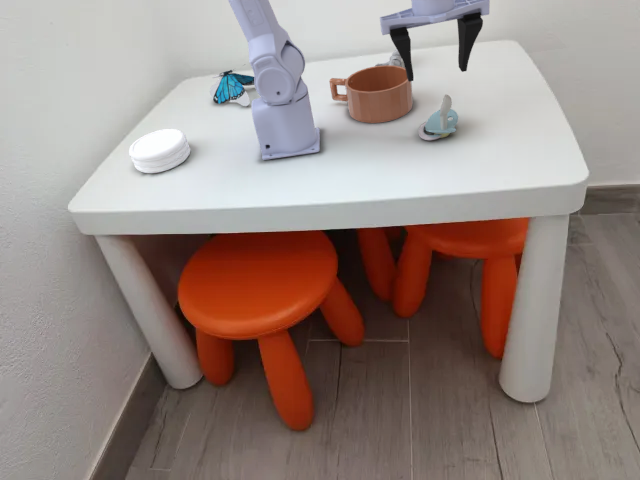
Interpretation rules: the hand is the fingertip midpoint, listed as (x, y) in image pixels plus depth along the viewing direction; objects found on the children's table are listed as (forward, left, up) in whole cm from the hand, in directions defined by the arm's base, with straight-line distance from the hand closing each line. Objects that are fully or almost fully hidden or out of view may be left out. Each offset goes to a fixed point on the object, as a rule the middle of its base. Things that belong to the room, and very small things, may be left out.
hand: (436, 73), depth 74 cm
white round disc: (-47, +5, -10) cm, 48 cm away
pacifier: (0, 0, -10) cm, 10 cm away
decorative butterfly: (-37, +28, -7) cm, 47 cm away
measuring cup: (-10, +13, -10) cm, 19 cm away
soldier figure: (-4, +28, -10) cm, 30 cm away
